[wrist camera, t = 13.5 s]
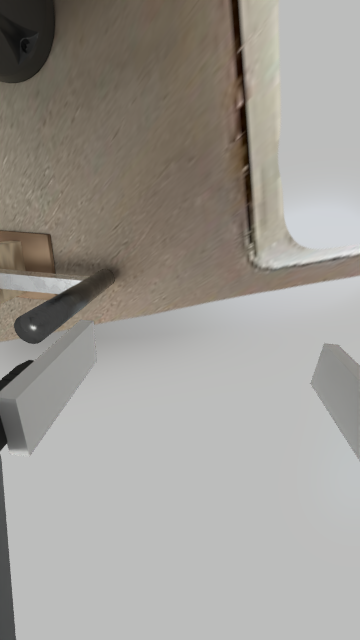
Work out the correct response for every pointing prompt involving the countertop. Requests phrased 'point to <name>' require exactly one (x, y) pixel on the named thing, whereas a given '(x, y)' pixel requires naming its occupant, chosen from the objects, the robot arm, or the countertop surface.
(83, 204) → the countertop surface
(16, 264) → the bearing stand
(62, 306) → the crank handle
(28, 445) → the robot arm
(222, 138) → the countertop surface
